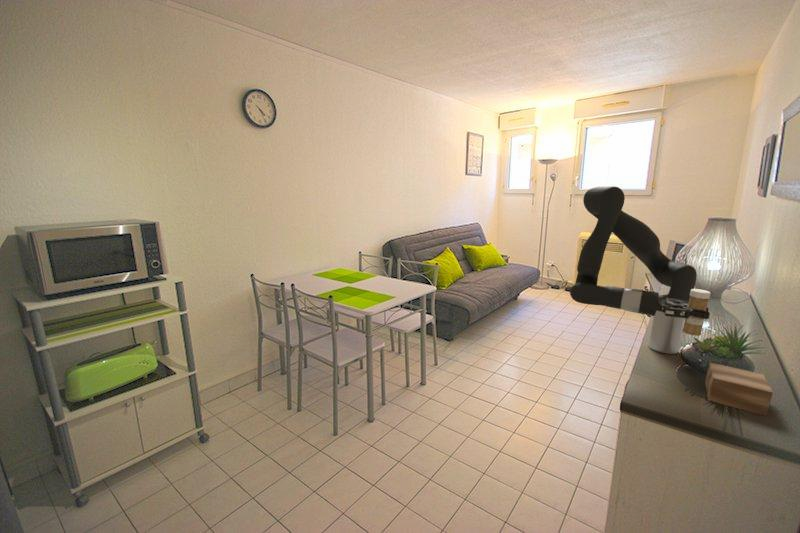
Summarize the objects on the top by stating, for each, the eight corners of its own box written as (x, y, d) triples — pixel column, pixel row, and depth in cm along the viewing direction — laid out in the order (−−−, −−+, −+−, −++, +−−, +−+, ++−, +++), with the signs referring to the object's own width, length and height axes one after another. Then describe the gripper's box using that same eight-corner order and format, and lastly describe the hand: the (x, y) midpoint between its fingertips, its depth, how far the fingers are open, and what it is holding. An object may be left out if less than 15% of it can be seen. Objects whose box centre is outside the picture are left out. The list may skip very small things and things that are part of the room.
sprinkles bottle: (690, 336, 106) (699, 292, 103) (678, 330, 111) (686, 288, 108) (705, 336, 107) (715, 292, 104) (692, 330, 111) (701, 288, 108)
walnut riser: (705, 382, 113) (709, 362, 111) (757, 396, 106) (763, 374, 104) (708, 400, 103) (713, 378, 102) (766, 416, 96) (772, 392, 95)
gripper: (639, 295, 109) (713, 307, 99) (642, 285, 120) (709, 295, 110) (635, 318, 111) (707, 332, 101) (638, 306, 122) (704, 318, 112)
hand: (708, 313), depth 106 cm, fingers closed on sprinkles bottle, 4 cm apart
